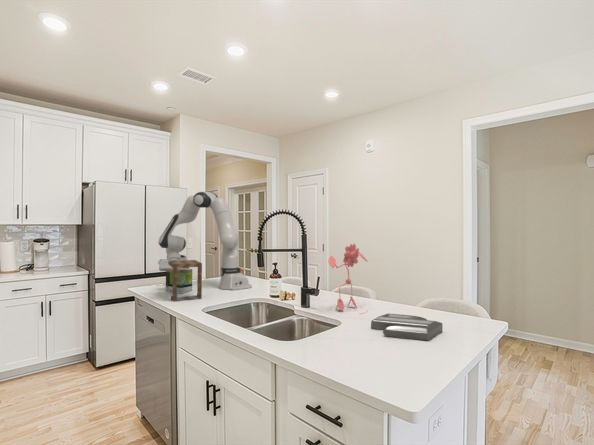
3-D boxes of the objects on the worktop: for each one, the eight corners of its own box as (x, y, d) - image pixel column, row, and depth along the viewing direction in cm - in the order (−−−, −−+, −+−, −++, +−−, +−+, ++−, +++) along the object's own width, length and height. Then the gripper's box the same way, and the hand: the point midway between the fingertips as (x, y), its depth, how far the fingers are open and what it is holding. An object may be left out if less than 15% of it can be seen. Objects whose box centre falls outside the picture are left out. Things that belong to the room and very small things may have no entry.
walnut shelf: (194, 292, 213) (194, 259, 213) (201, 298, 196) (201, 263, 196) (168, 294, 205) (168, 261, 206) (172, 301, 188) (173, 264, 188)
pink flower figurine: (323, 311, 170) (325, 243, 170) (356, 304, 187) (358, 242, 186) (345, 318, 159) (347, 245, 158) (378, 310, 175) (380, 244, 175)
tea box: (192, 291, 218) (193, 268, 218) (180, 293, 209) (180, 270, 209) (177, 288, 226) (178, 266, 226) (165, 291, 217) (165, 268, 217)
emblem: (414, 308, 159) (457, 325, 132) (414, 319, 159) (457, 339, 132) (361, 312, 151) (395, 331, 125) (361, 323, 151) (394, 345, 125)
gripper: (158, 256, 232) (159, 272, 224) (188, 255, 242) (191, 270, 234) (157, 262, 236) (158, 278, 228) (187, 261, 246) (189, 276, 238)
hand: (175, 274), depth 231 cm, fingers closed
